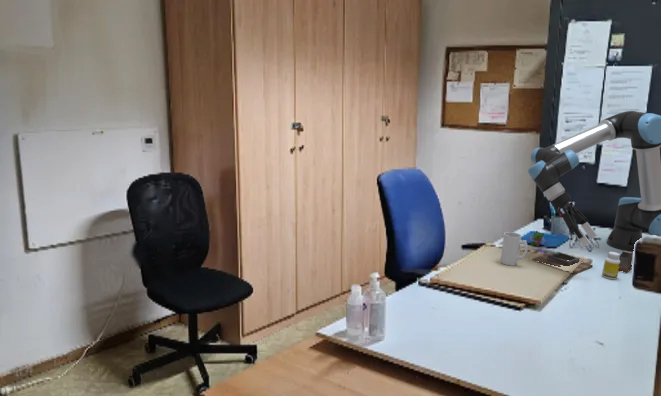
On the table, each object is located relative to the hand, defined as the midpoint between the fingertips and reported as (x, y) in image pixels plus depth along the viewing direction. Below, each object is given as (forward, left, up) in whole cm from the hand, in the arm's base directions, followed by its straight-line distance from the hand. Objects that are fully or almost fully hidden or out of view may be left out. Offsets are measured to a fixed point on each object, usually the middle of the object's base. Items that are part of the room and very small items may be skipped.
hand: (590, 241), depth 223 cm
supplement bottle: (-3, +8, -13) cm, 16 cm away
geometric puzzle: (-13, -29, -13) cm, 34 cm away
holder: (0, -10, -13) cm, 16 cm away
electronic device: (-18, +7, -13) cm, 24 cm away
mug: (+19, -21, -13) cm, 31 cm away
